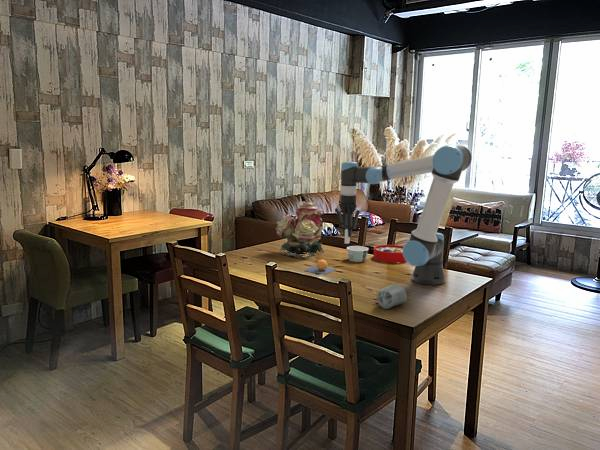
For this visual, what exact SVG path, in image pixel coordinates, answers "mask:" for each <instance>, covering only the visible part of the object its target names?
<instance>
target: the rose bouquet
mask: <svg viewBox="0 0 600 450" xmlns="http://www.w3.org/2000/svg"><path fill="white" fill-rule="evenodd" d="M319 207H320V205H319V204H318V205H317V206H316V204H315V203H313V202H310V201H308V202H307V201H305V200H304V201H301V202H300V203H299V206H298V207H297V208H296V211H295V214H296V218H294V217H292V216H291V215H289V214H287V215H283V216H282V217H281V218H280V220H279V221H277V222H276V224H277V225H276V227H275V230H276V234H277V236H278V237H279V238H280V239H281V240H283V239H286V240H287V242H284V243H283V244H282V245H281V247H280V249H279V251H280V250H284V251H285V250H287V251H294V253H292V252H286V253H288V255H287V256H293V257H294V258H296V259H299V258H298V257H302V256H305V255H300V254H296V252H307V255H309V256H310V257H314V256H313V255H315V252H317V250H318V251H319V252H322V253H324V252H325V251H324V249H323V247H322V242H319V240H321V238H322V237H321V235H322V234H321V233H322V232H323V229H324V228H323V225H322V224H324V223H325V221H323V219H322V217H321V216H322V215H324V212H323V211H321V210H319V209H318V208H319ZM284 251H283V252H284ZM313 251H315V252H313Z"/></svg>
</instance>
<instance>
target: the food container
mask: <svg viewBox="0 0 600 450" xmlns="http://www.w3.org/2000/svg"><path fill="white" fill-rule="evenodd" d="M346 250H347V257H348V261H350V262H353V261H354V262H355V263H363V262H365V261H367V256H368V255H367V254H368V253H369V252H368V251H369V247H366V246H361V245H351V246H347V247H346ZM354 262H353V263H354Z"/></svg>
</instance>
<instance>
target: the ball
mask: <svg viewBox="0 0 600 450" xmlns="http://www.w3.org/2000/svg"><path fill="white" fill-rule="evenodd" d="M316 266H317V268H318V269H319V270H321V271H323V270H325V269H326V268H327V267H328V262H327V260H325V259H318V261H317V262H316Z"/></svg>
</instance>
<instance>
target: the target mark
mask: <svg viewBox="0 0 600 450" xmlns="http://www.w3.org/2000/svg"><path fill="white" fill-rule="evenodd" d="M335 270H336V268H334V267H328V266H327V268H326V269H325V270H323V271H321V270H319V269H318V268H317V265H313V266H312V267H309V268H307V269H305V270H304V272H305V271H306V272H307V273H314V274H319V275H320V274H321V275H328V274H329V273H332V272H334V271H335Z"/></svg>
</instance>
